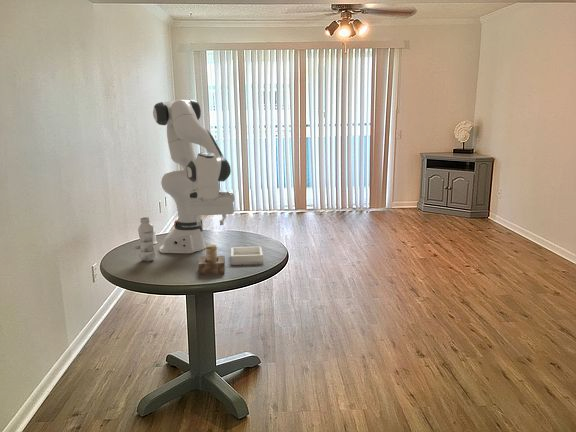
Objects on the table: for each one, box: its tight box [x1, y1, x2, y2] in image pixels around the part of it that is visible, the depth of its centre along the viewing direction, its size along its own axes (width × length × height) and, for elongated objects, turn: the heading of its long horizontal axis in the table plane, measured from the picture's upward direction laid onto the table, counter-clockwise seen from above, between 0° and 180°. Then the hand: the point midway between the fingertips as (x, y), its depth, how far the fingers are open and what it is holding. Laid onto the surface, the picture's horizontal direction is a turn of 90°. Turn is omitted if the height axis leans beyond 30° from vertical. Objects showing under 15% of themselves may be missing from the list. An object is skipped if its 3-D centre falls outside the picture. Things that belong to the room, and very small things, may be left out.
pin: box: [205, 244, 218, 262], centre depth 202 cm, size 4×4×11 cm
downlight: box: [149, 223, 158, 245], centre depth 245 cm, size 8×7×10 cm
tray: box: [230, 245, 264, 266], centre depth 218 cm, size 14×14×4 cm
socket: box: [197, 255, 226, 277], centre depth 202 cm, size 10×10×5 cm
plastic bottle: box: [137, 216, 156, 262], centre depth 215 cm, size 6×7×20 cm
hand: (210, 225), depth 198 cm, fingers open, 8 cm apart
